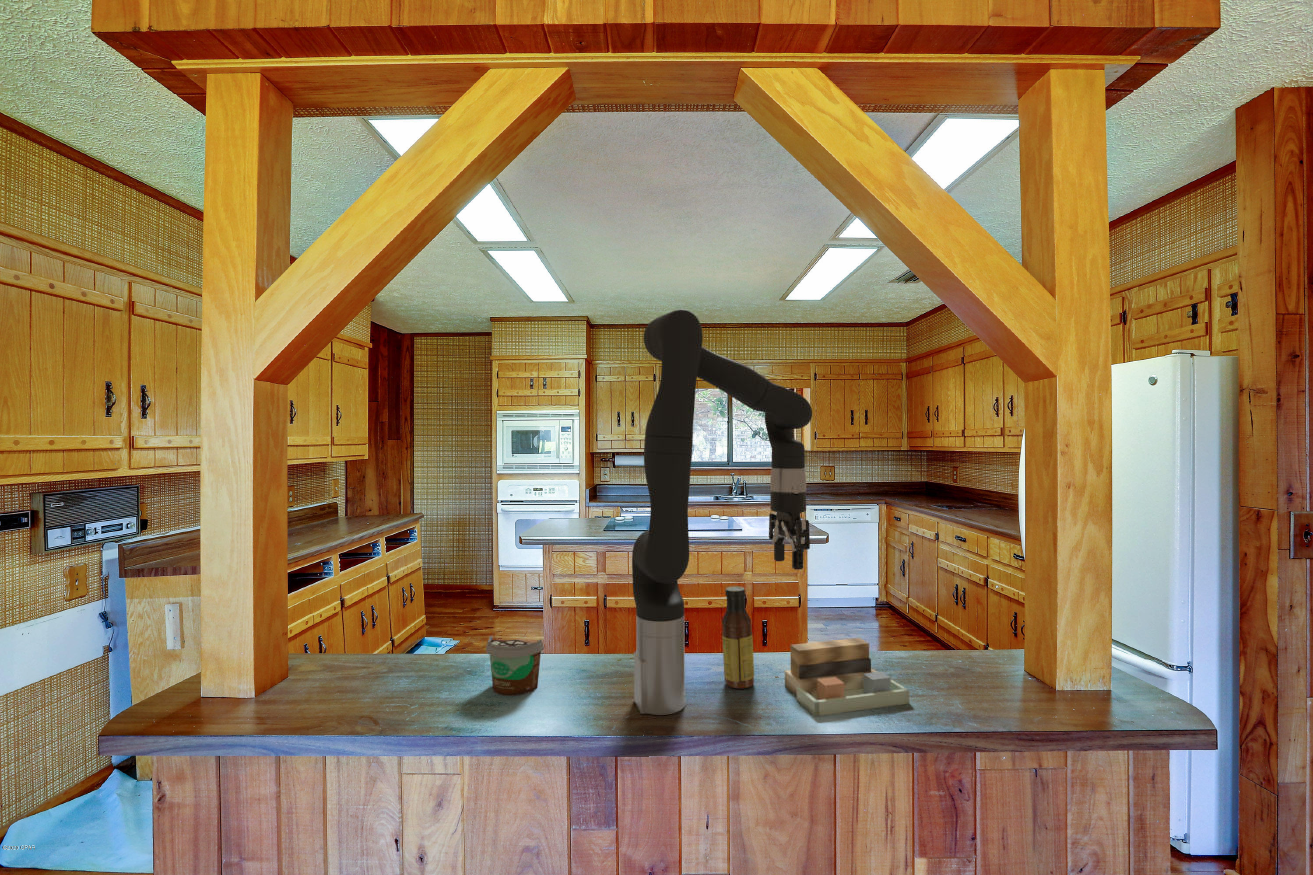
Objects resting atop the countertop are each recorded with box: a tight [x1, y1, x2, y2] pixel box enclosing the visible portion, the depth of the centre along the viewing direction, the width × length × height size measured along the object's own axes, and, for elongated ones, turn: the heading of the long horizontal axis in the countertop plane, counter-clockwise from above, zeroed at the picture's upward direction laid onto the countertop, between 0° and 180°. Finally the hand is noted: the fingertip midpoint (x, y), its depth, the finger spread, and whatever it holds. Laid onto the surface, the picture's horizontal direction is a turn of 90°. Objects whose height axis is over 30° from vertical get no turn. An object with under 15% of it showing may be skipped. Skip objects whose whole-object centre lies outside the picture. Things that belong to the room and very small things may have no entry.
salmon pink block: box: [817, 677, 844, 700], centre depth 111 cm, size 4×4×3 cm
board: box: [784, 667, 878, 696], centre depth 119 cm, size 18×7×3 cm, turn 104°
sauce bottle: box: [721, 585, 755, 690], centre depth 121 cm, size 7×6×20 cm
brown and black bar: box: [790, 637, 872, 680], centre depth 120 cm, size 16×4×6 cm, turn 104°
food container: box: [485, 635, 545, 697], centre depth 118 cm, size 12×6×10 cm, turn 76°
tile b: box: [863, 671, 892, 694], centre depth 113 cm, size 4×4×3 cm
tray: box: [796, 679, 910, 717], centre depth 112 cm, size 20×7×2 cm, turn 104°
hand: (788, 564), depth 125 cm, fingers open, 8 cm apart
